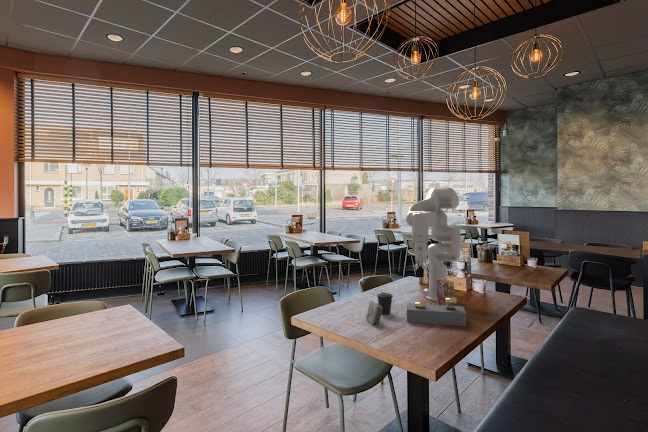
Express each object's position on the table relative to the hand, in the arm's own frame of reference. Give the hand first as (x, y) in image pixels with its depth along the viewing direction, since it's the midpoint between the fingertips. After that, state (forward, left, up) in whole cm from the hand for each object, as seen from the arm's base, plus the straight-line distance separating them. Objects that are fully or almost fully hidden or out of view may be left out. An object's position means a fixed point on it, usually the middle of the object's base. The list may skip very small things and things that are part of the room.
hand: (420, 276), depth 170 cm
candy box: (0, +23, -21) cm, 31 cm away
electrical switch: (-13, -18, -21) cm, 31 cm away
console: (+6, +4, -21) cm, 22 cm away
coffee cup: (-17, -5, -21) cm, 27 cm away
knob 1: (0, 0, -19) cm, 19 cm away
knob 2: (+12, +8, -16) cm, 21 cm away
